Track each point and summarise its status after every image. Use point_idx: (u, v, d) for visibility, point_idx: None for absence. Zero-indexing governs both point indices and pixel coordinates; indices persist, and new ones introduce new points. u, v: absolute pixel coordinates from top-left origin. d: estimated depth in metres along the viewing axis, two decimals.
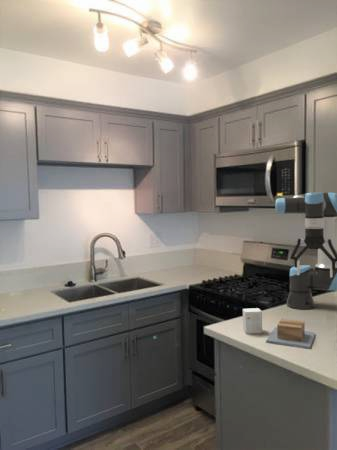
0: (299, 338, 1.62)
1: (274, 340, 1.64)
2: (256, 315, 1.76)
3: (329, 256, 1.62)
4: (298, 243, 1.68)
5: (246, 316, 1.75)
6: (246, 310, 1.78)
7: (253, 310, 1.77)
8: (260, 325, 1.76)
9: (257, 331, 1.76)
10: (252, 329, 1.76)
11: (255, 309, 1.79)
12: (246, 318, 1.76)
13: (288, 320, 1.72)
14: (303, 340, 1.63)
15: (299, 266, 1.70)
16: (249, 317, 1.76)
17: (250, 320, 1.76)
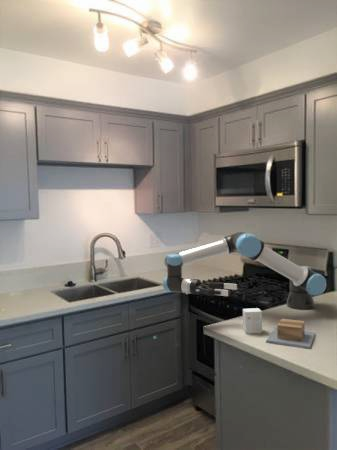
0: (299, 338, 1.62)
1: (274, 340, 1.64)
2: (256, 315, 1.76)
3: None
4: None
5: (246, 316, 1.75)
6: (246, 310, 1.78)
7: (253, 310, 1.77)
8: (260, 325, 1.76)
9: (257, 331, 1.76)
10: (252, 329, 1.76)
11: (255, 309, 1.79)
12: (246, 318, 1.76)
13: (288, 320, 1.72)
14: (303, 340, 1.63)
15: (229, 285, 1.89)
16: (249, 317, 1.76)
17: (250, 320, 1.76)
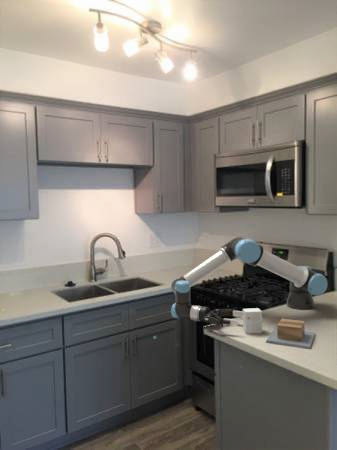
0: (299, 338, 1.62)
1: (274, 340, 1.64)
2: (256, 315, 1.76)
3: None
4: None
5: (246, 316, 1.75)
6: (246, 310, 1.78)
7: (253, 310, 1.77)
8: (260, 325, 1.76)
9: (257, 331, 1.76)
10: (252, 329, 1.76)
11: (255, 309, 1.79)
12: (246, 318, 1.76)
13: (288, 320, 1.72)
14: (303, 340, 1.63)
15: (238, 312, 1.88)
16: (249, 317, 1.76)
17: (250, 320, 1.76)
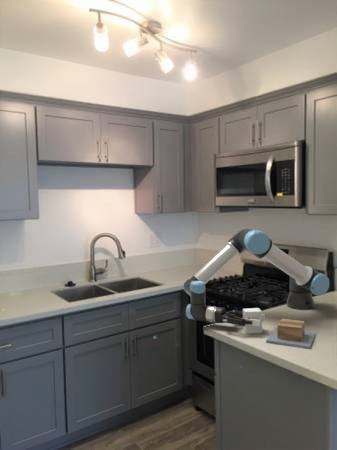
0: (299, 338, 1.62)
1: (274, 340, 1.64)
2: (256, 315, 1.76)
3: None
4: None
5: (246, 316, 1.75)
6: (246, 310, 1.78)
7: (253, 310, 1.77)
8: (260, 325, 1.76)
9: (257, 331, 1.76)
10: (252, 329, 1.76)
11: (255, 309, 1.79)
12: None
13: (288, 320, 1.72)
14: (303, 340, 1.63)
15: None
16: (249, 317, 1.76)
17: None
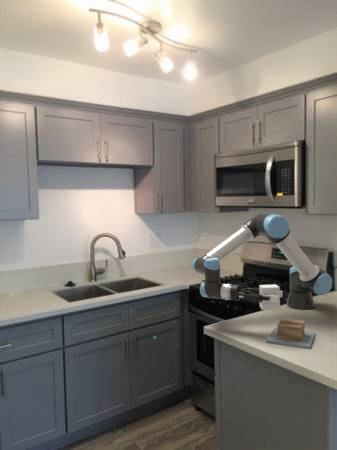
0: (299, 338, 1.62)
1: (274, 340, 1.64)
2: (274, 291, 1.69)
3: None
4: None
5: (263, 292, 1.69)
6: (263, 286, 1.71)
7: (270, 286, 1.71)
8: (278, 301, 1.69)
9: (274, 308, 1.70)
10: (270, 305, 1.69)
11: (272, 285, 1.72)
12: (263, 294, 1.69)
13: (288, 320, 1.72)
14: (303, 340, 1.63)
15: None
16: (266, 293, 1.69)
17: None
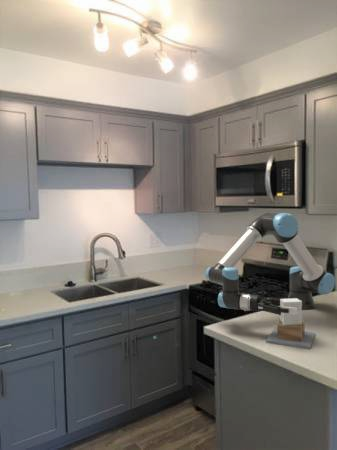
0: (299, 338, 1.62)
1: (274, 340, 1.64)
2: (296, 305, 1.65)
3: None
4: None
5: (285, 306, 1.65)
6: (284, 300, 1.67)
7: (292, 300, 1.67)
8: (299, 316, 1.65)
9: (296, 322, 1.65)
10: (291, 320, 1.65)
11: (294, 299, 1.68)
12: None
13: None
14: (303, 340, 1.63)
15: None
16: None
17: None
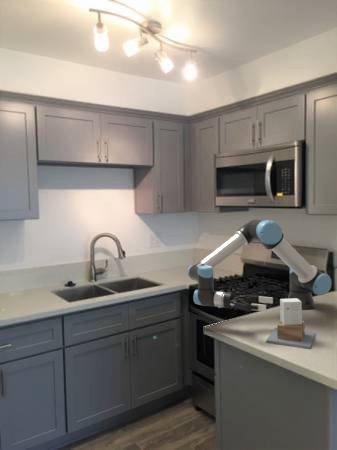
0: (299, 338, 1.62)
1: (274, 340, 1.64)
2: (296, 305, 1.65)
3: None
4: None
5: (285, 306, 1.65)
6: (284, 300, 1.67)
7: (292, 300, 1.67)
8: (299, 316, 1.65)
9: (296, 322, 1.65)
10: (291, 320, 1.65)
11: (294, 299, 1.68)
12: (285, 308, 1.65)
13: None
14: (303, 340, 1.63)
15: (264, 298, 1.80)
16: (288, 308, 1.65)
17: (289, 311, 1.65)
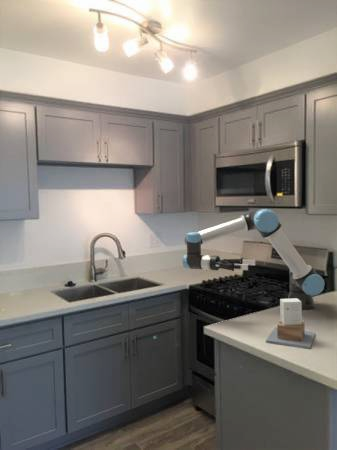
0: (299, 338, 1.62)
1: (274, 340, 1.64)
2: (296, 305, 1.65)
3: None
4: None
5: (285, 306, 1.65)
6: (284, 300, 1.67)
7: (292, 300, 1.67)
8: (299, 316, 1.65)
9: (296, 322, 1.65)
10: (291, 320, 1.65)
11: (294, 299, 1.68)
12: (285, 308, 1.65)
13: None
14: (303, 340, 1.63)
15: (247, 261, 1.94)
16: (288, 308, 1.65)
17: (289, 311, 1.65)
